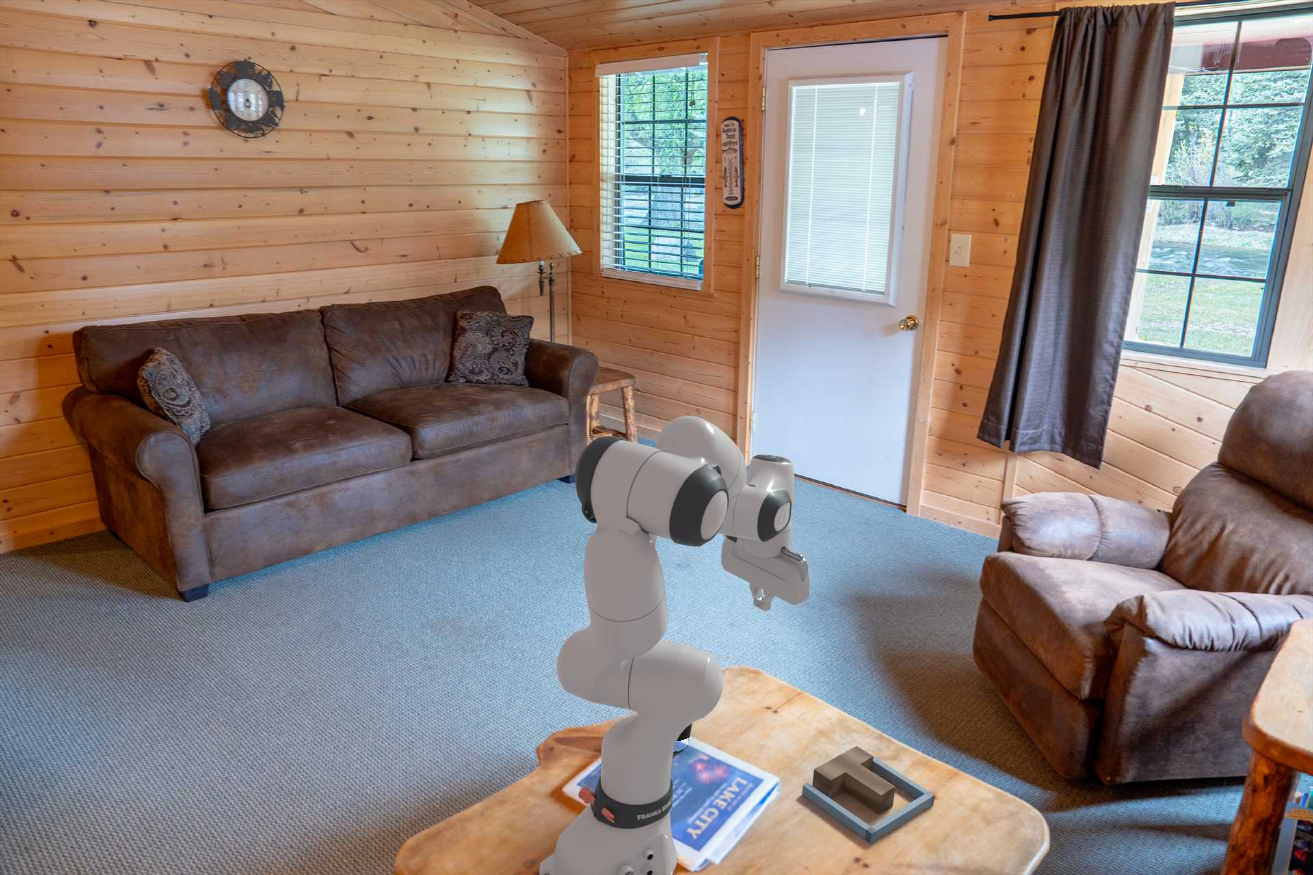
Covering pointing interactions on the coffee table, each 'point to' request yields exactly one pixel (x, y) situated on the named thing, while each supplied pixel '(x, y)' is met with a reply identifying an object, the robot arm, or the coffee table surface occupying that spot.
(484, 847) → the coffee table surface
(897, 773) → the slate bay
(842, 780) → the walnut T block
